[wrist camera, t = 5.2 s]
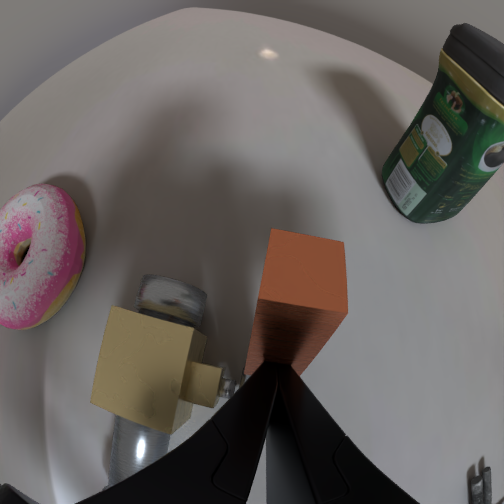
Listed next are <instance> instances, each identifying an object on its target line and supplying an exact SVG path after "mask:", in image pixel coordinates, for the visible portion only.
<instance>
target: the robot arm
mask: <svg viewBox="0 0 504 504" xmlns="http://www.w3.org/2000/svg"><path fill="white" fill-rule="evenodd" d="M345 435H346V434H345V433H344V432H343V430H342V429H341V428H340V427H339V425H338V424H337V423H336V422H335V421H334V419H333V418H332V417H331V416H330V414H329V413H328V412H327V411H326V409H325V408H324V407H323V406H322V404H321V403H320V402H319V401H318V399H317V398H316V397H315V396H314V394H313V393H312V392H311V390H310V389H309V388H308V387H307V385H306V384H305V383H304V382H303V380H302V379H301V378H300V376H299V375H298V374H297V372H296V371H295V370H294V369H293V367H292V366H291V365H287V364H281V363H278V364H277V363H274V362H268V361H263V362H262V363H261V365H260V366H259V367H258V368H257V369H256V370H255V371H254V373H253V374H252V375H251V376H250V377H249V378H248V379H247V380H246V381H245V383H244V384H243V385H242V386H241V387H240V388H239V389H238V390H237V391H236V392H235V393H234V395H233V396H232V397H231V398H230V399H229V400H228V401H227V402H226V403H225V404H224V405H223V406H222V407H221V408H220V409H219V410H218V411H217V412H216V413H215V414H214V415H213V416H212V417H211V419H210V420H208V421H207V422H206V423H205V424H204V425H203V426H202V427H201V428H200V429H199V430H198V431H197V432H195V433H194V434H193V435H192V436H191V437H190V438H189V439H187V440H186V441H185V442H183V443H182V444H180V445H179V446H178V447H176V448H175V449H174V450H172V451H171V452H169V453H167V454H166V455H164V456H163V457H161V458H160V459H158V460H156V461H155V462H153V463H152V464H150V465H148V466H147V467H145V468H143V469H142V470H140V471H138V472H137V473H135V474H133V475H131V476H130V477H128V478H126V479H124V480H122V481H120V482H119V483H117V484H115V485H113V486H111V487H109V488H107V489H105V490H103V491H101V492H99V493H97V494H95V495H93V496H91V497H89V498H87V499H84V500H82V501H80V502H78V503H75V504H246V502H247V500H248V496H249V493H250V490H251V487H252V484H253V480H254V477H255V474H256V470H257V467H258V463H259V460H260V456H261V453H262V449H263V445H264V442H265V438H266V498H267V504H420V503H418V502H417V501H416V500H415V499H413V498H412V497H411V496H410V495H409V494H407V493H406V492H405V491H404V490H403V489H401V488H400V487H399V486H398V485H397V484H395V483H394V482H393V481H392V480H391V479H390V478H388V477H387V476H386V475H385V474H384V473H383V472H382V471H380V470H379V469H378V468H377V467H376V466H375V465H374V464H373V463H372V462H371V461H370V460H369V459H368V458H367V457H366V456H365V455H364V454H363V453H362V452H361V451H360V450H359V449H358V447H357V446H356V445H355V444H354V443H353V442H352V441H351V439H350V438H349V437H348V436H345ZM0 504H39V503H38V502H36V501H34V500H33V499H31V498H29V497H28V496H26V495H25V494H23V493H22V492H20V491H19V490H17V489H16V488H14V487H13V486H11V485H10V484H7V483H5V484H3V485H1V484H0Z"/></svg>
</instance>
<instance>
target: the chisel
mask: <svg viewBox="0 0 504 504" xmlns="http://www.w3.org/2000/svg"><path fill="white" fill-rule="evenodd" d="M347 314H348V298H347V278H346V263H345V250H344V242H340V241H335V240H330V239H325V238H320V237H315V236H310V235H305V234H299V233H294V232H289V231H283V230H278V229H273V228H271V233H270V238H269V244H268V249H267V254H266V260H265V265H264V270H263V275H262V281H261V286H260V291H259V296H258V301H257V307H256V312H255V318H254V323H253V328H252V334H251V339H250V344H249V350H248V355H247V360H246V365H245V368H243V373H242V378H241V382H240V387H241V386H242V385H243V384H244V383H245V381H246V380H247V379H248V378H249V377H250V376H251V375H252V374H253V373H254V371H255V370H256V369H257V368H258V367H259V366H260V365H261V363H262V362H263V361H268V362H274V363H277V364H278V363H281V364H287V365H291V366H292V367H293V369H294V370H295V371H296V372H297V374H298V375H299V376H300V375H301V374H302V373H303V371H304V370H305V369H306V368H307V367H308V365H309V364H310V363H311V362H312V360H313V359H314V358H315V357H316V355H317V354H318V353H319V352H320V350H321V349H322V348H323V346H324V345H325V344H326V343H327V341H328V340H329V339H330V337H331V336H332V335H333V333H334V332H335V330H336V329H337V328H338V326H339V325H340V324H341V322H342V321H343V319H344V318H345V317H346V315H347ZM240 387H239V388H240Z"/></svg>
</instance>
